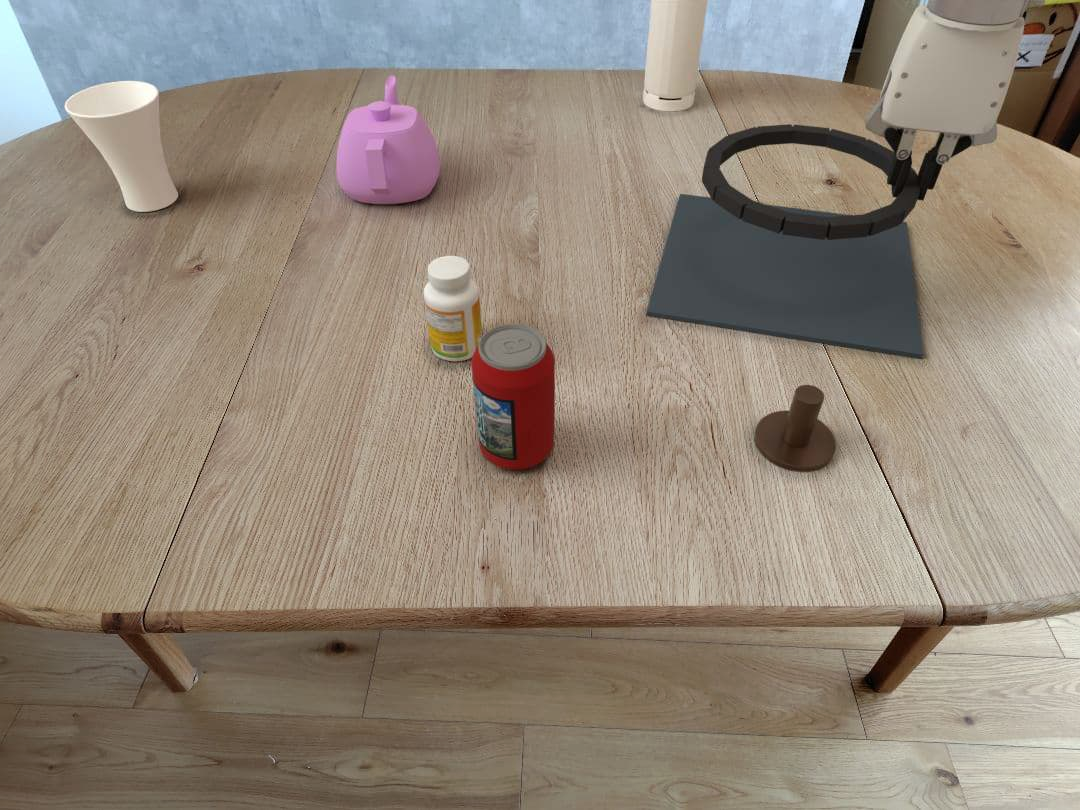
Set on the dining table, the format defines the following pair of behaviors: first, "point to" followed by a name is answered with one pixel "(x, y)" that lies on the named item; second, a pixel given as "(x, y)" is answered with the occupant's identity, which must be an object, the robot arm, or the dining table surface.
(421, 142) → the teapot
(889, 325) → the mat
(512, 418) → the beverage can
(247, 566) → the dining table surface
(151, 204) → the cup
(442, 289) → the supplement bottle
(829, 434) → the brown peg stand
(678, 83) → the bottle
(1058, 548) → the dining table surface
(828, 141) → the ring
